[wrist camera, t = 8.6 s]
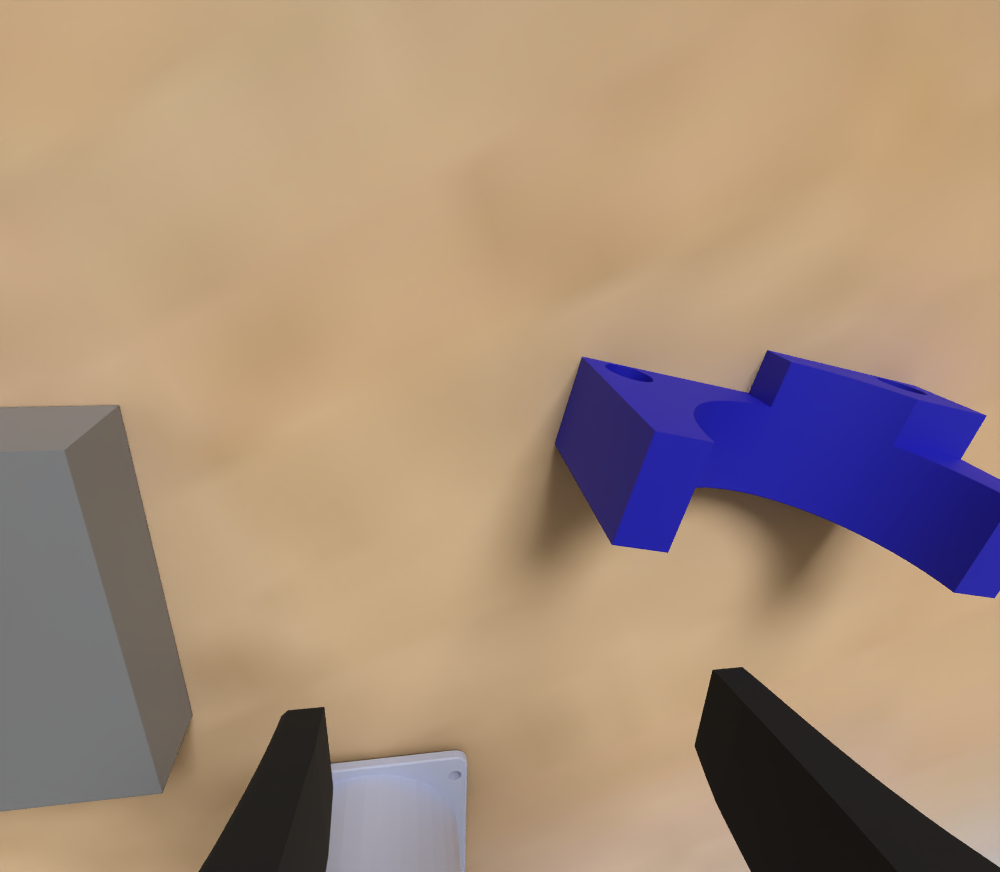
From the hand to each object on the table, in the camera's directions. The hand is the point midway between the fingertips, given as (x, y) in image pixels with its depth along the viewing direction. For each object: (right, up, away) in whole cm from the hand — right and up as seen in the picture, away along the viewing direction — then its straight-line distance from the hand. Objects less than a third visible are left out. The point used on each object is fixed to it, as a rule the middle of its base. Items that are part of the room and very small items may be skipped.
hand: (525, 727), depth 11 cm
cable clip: (+8, +6, +9) cm, 14 cm away
